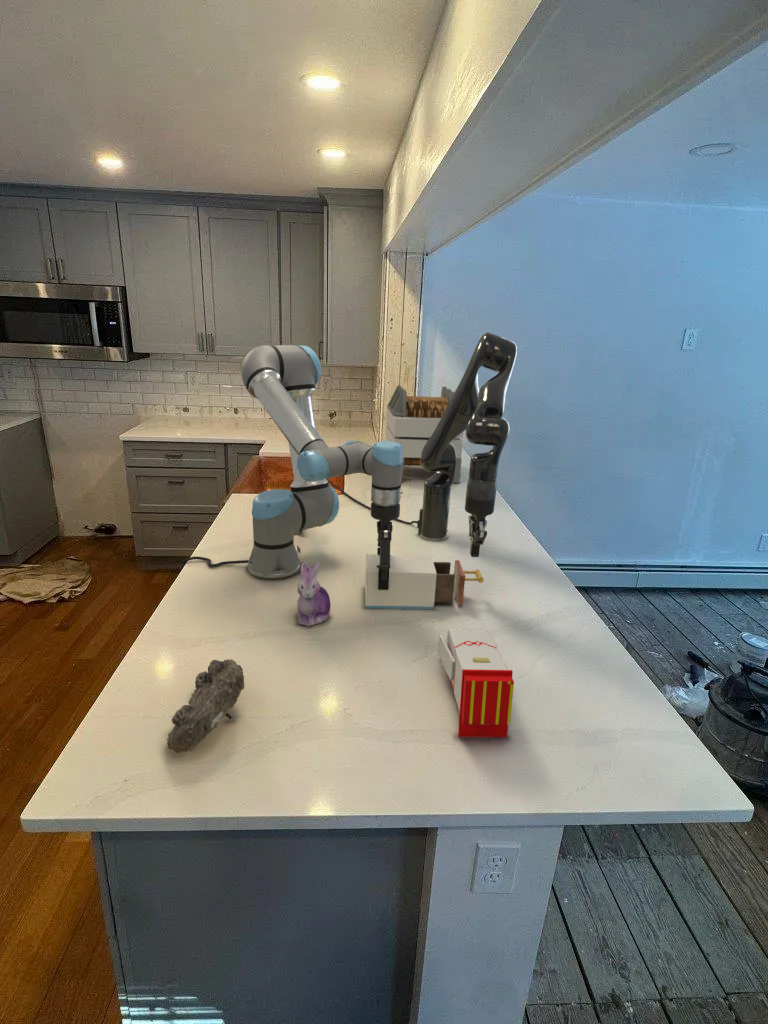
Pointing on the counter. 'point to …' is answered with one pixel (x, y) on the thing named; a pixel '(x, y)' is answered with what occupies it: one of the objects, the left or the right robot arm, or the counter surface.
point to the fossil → (206, 705)
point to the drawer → (452, 581)
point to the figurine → (312, 597)
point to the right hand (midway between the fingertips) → (474, 555)
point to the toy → (478, 682)
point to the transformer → (418, 425)
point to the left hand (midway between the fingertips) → (382, 579)
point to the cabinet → (401, 583)
